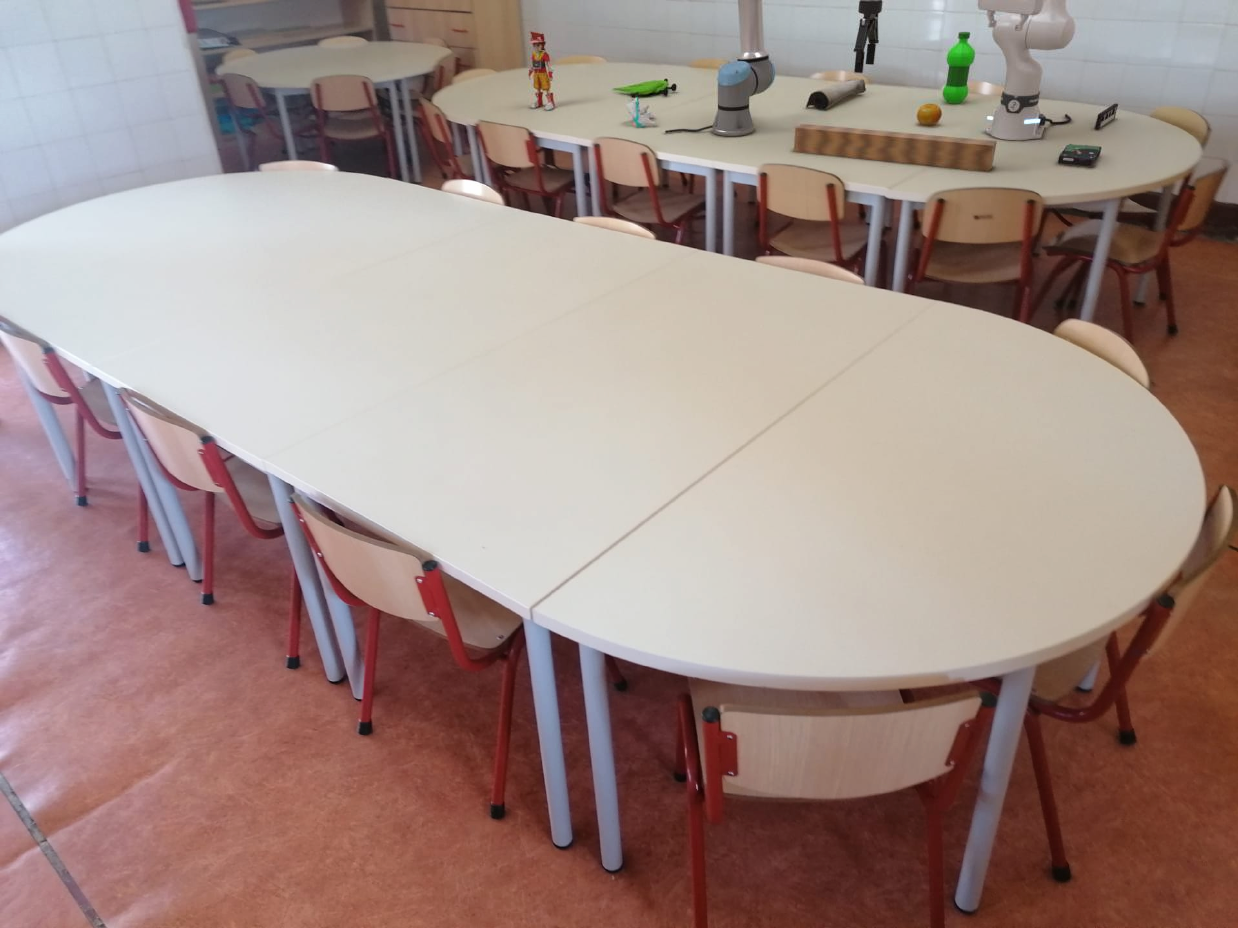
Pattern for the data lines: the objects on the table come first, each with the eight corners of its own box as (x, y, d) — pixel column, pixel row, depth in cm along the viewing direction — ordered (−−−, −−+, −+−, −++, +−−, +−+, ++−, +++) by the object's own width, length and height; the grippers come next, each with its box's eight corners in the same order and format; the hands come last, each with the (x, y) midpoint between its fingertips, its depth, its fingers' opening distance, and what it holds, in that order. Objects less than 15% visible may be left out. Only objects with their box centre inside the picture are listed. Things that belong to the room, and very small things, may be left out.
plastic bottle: (973, 101, 354) (984, 32, 339) (955, 106, 349) (966, 36, 335) (952, 97, 361) (962, 29, 346) (934, 102, 356) (944, 33, 342)
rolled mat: (841, 83, 376) (857, 68, 368) (853, 102, 377) (870, 86, 369) (802, 102, 359) (819, 86, 351) (815, 121, 359) (832, 105, 351)
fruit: (911, 116, 327) (926, 96, 324) (913, 119, 335) (927, 100, 332) (931, 129, 325) (945, 109, 322) (931, 132, 333) (946, 112, 330)
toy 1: (525, 109, 381) (517, 32, 364) (534, 104, 388) (527, 28, 371) (550, 110, 377) (543, 32, 360) (559, 105, 384) (553, 28, 367)
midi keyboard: (1098, 129, 313) (1101, 114, 311) (1094, 129, 314) (1098, 114, 311) (1114, 118, 324) (1118, 104, 321) (1111, 118, 325) (1114, 103, 322)
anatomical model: (623, 97, 354) (648, 90, 354) (629, 123, 360) (653, 116, 359) (626, 106, 342) (652, 99, 341) (633, 133, 348) (658, 126, 347)
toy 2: (686, 85, 398) (631, 84, 414) (685, 72, 395) (629, 72, 411) (651, 104, 381) (596, 103, 397) (650, 92, 378) (594, 91, 394)
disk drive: (1092, 168, 280) (1100, 154, 290) (1094, 159, 278) (1102, 146, 288) (1057, 164, 285) (1065, 151, 295) (1059, 155, 283) (1067, 142, 293)
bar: (793, 151, 311) (795, 127, 307) (799, 147, 315) (801, 123, 311) (988, 171, 283) (993, 145, 278) (992, 166, 287) (996, 141, 282)
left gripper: (871, 6, 285) (864, 77, 297) (892, -6, 303) (884, 61, 315) (848, 5, 288) (842, 75, 300) (870, -7, 306) (863, 60, 318)
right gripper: (1052, -22, 256) (1041, 31, 264) (992, -26, 270) (984, 24, 278) (1038, -20, 253) (1028, 34, 261) (978, -24, 268) (970, 26, 275)
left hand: (864, 68), depth 308 cm, fingers open, 13 cm apart
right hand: (1004, 29), depth 270 cm, fingers open, 8 cm apart
